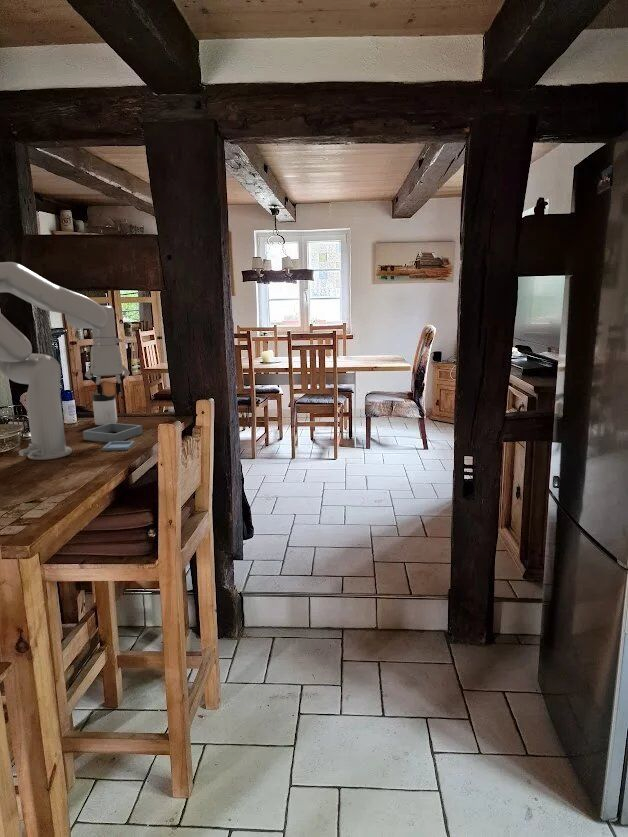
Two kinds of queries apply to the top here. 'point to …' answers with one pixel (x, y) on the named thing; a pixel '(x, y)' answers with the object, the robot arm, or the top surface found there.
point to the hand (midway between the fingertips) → (109, 394)
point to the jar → (104, 409)
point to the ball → (109, 389)
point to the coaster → (118, 445)
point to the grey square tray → (104, 436)
